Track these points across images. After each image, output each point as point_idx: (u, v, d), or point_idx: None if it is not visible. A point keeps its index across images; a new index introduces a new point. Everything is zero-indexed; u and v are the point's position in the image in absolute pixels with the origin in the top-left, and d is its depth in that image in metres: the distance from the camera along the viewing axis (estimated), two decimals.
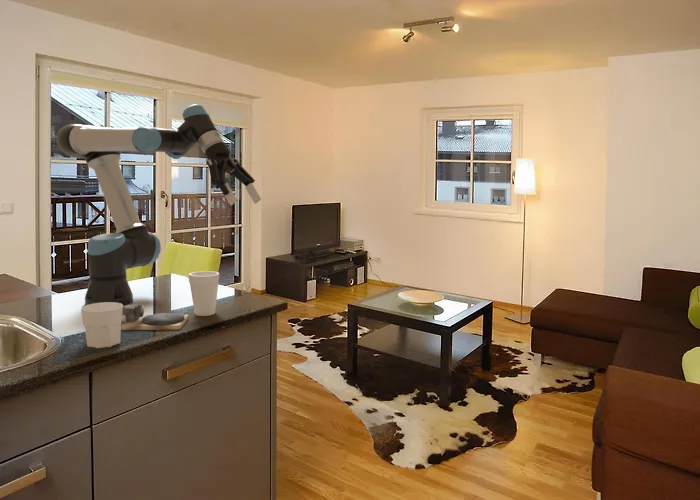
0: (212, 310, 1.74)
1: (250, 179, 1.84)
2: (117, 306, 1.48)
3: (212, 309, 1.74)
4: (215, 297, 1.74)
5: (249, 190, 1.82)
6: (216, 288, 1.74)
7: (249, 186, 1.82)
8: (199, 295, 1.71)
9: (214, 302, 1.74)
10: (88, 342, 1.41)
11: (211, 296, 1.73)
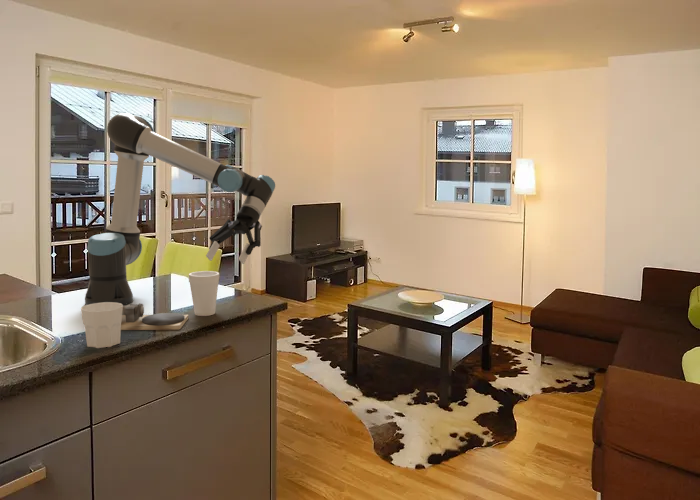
0: (212, 310, 1.74)
1: None
2: (117, 306, 1.48)
3: (212, 309, 1.74)
4: (215, 297, 1.74)
5: (214, 246, 1.88)
6: (216, 288, 1.74)
7: (217, 245, 1.89)
8: (199, 295, 1.71)
9: (214, 302, 1.74)
10: (88, 342, 1.41)
11: (211, 296, 1.73)
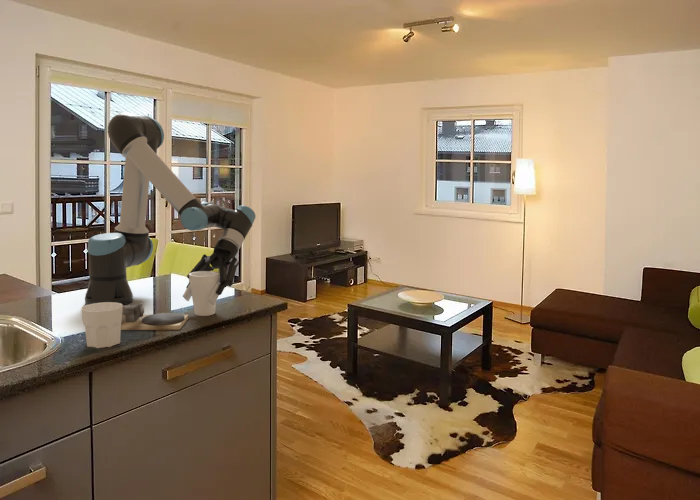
0: (212, 310, 1.74)
1: None
2: (117, 306, 1.48)
3: (212, 309, 1.74)
4: None
5: None
6: None
7: None
8: (199, 295, 1.71)
9: None
10: (88, 342, 1.41)
11: None
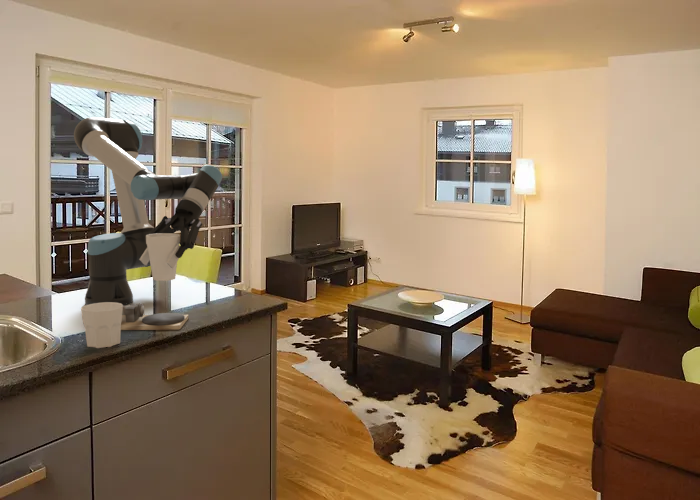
0: (172, 275, 1.60)
1: None
2: (117, 306, 1.48)
3: (172, 274, 1.60)
4: None
5: None
6: None
7: None
8: (157, 258, 1.57)
9: (174, 266, 1.60)
10: (88, 342, 1.41)
11: None
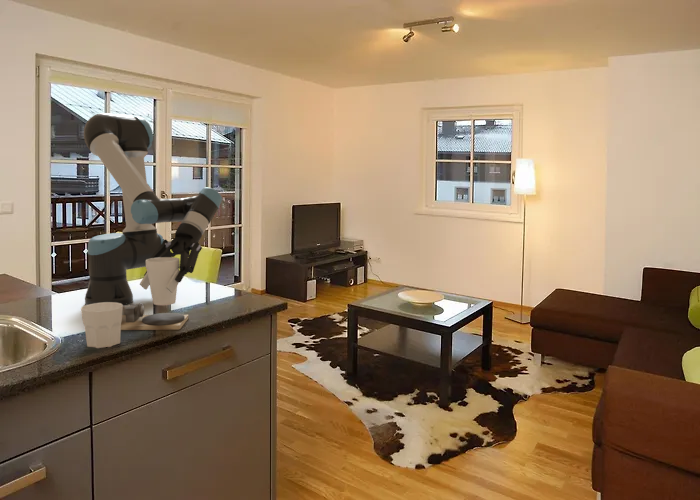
0: (172, 299, 1.60)
1: None
2: (117, 306, 1.48)
3: (172, 298, 1.60)
4: None
5: None
6: None
7: None
8: (157, 282, 1.57)
9: (174, 290, 1.61)
10: (88, 342, 1.41)
11: None
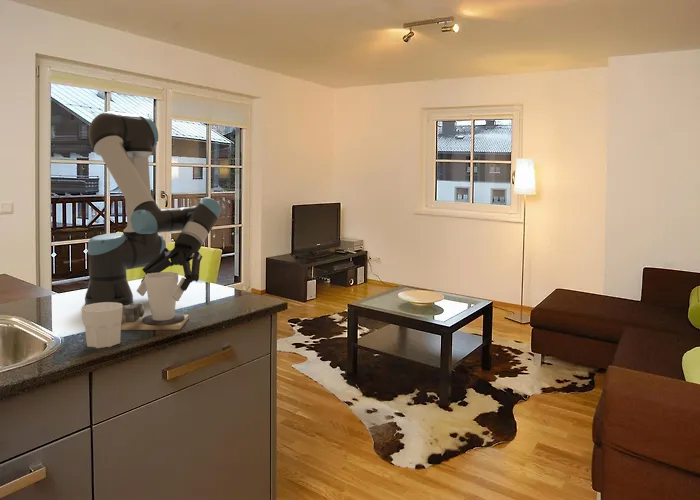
0: (170, 314, 1.62)
1: (150, 271, 1.69)
2: (117, 306, 1.48)
3: (170, 313, 1.61)
4: (174, 300, 1.62)
5: None
6: None
7: None
8: (155, 298, 1.58)
9: (173, 305, 1.62)
10: (88, 342, 1.41)
11: (169, 299, 1.60)
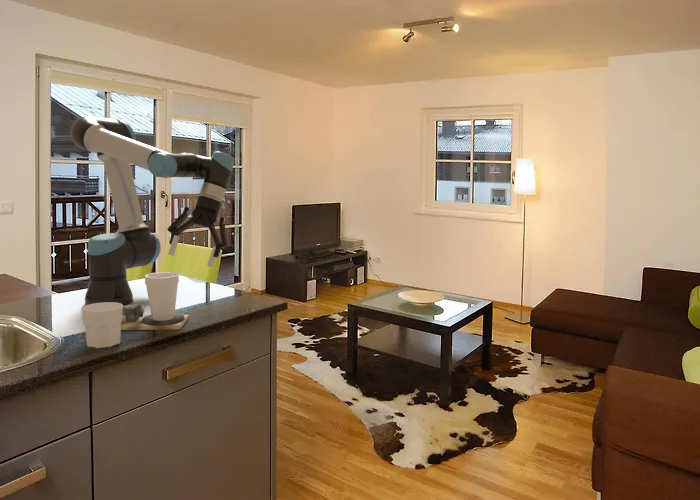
0: (170, 314, 1.62)
1: (174, 229, 1.78)
2: (117, 306, 1.48)
3: (170, 313, 1.61)
4: (174, 300, 1.62)
5: (175, 241, 1.76)
6: (175, 291, 1.61)
7: (177, 238, 1.77)
8: (156, 298, 1.58)
9: (173, 306, 1.62)
10: (88, 342, 1.41)
11: (169, 299, 1.60)
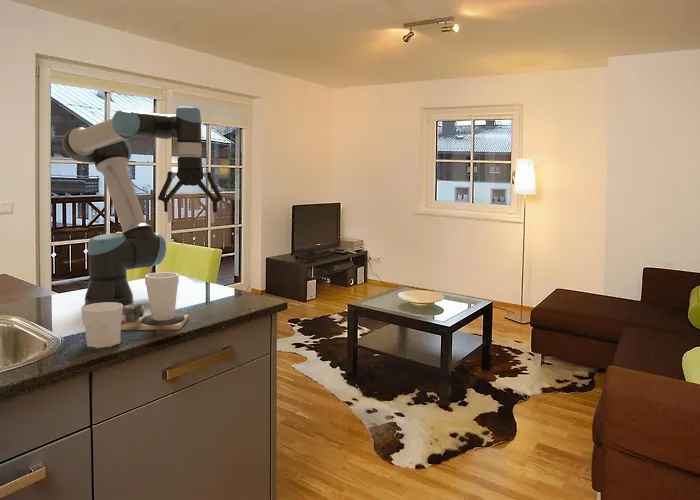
0: (170, 314, 1.62)
1: None
2: (117, 306, 1.48)
3: (170, 313, 1.61)
4: (174, 300, 1.62)
5: (170, 207, 1.77)
6: (175, 291, 1.61)
7: (170, 204, 1.77)
8: (156, 298, 1.58)
9: (173, 306, 1.62)
10: (88, 342, 1.41)
11: (169, 299, 1.60)
